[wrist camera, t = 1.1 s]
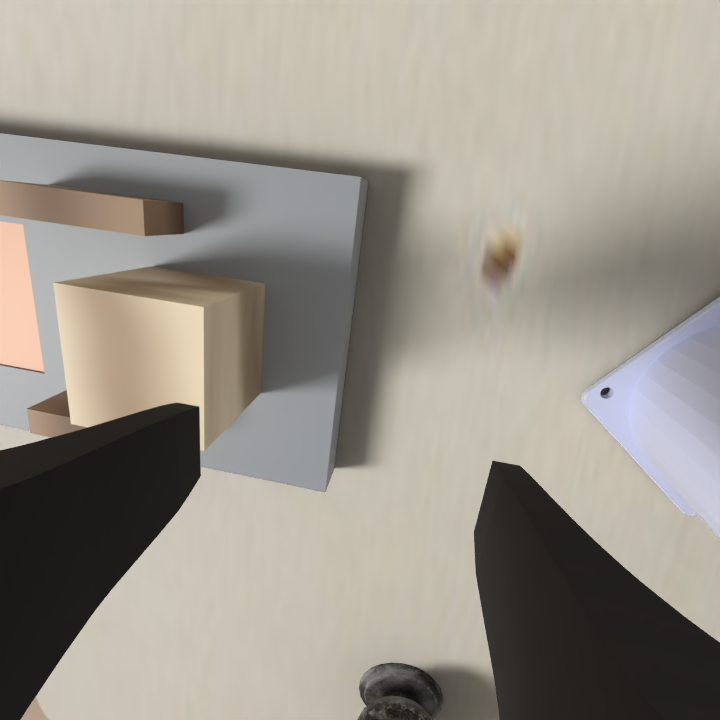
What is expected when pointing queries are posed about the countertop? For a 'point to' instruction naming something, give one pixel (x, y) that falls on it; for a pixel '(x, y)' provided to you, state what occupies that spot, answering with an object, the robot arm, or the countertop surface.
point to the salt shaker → (399, 694)
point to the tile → (17, 303)
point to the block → (161, 344)
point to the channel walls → (88, 213)
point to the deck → (220, 258)
